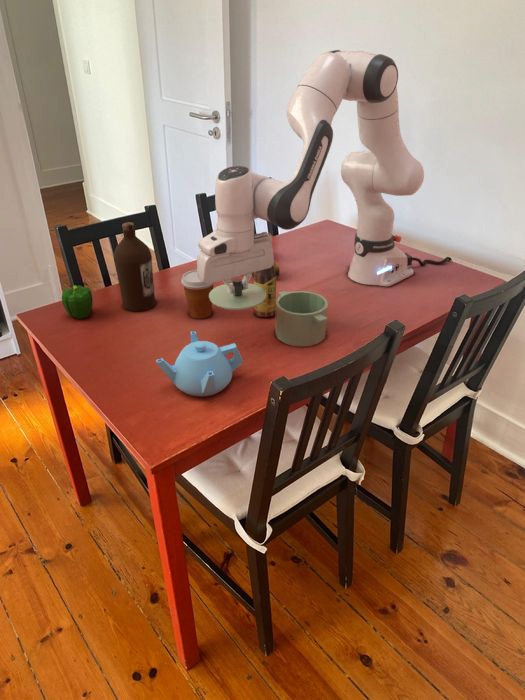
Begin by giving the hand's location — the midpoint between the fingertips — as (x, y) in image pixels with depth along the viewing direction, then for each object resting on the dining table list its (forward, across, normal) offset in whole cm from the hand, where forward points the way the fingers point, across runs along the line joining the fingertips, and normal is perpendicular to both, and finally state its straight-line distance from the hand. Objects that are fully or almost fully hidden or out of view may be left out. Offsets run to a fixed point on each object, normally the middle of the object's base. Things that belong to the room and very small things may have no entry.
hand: (237, 290), depth 134 cm
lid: (+2, 0, 0) cm, 2 cm away
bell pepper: (+15, +32, -37) cm, 51 cm away
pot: (+15, -16, +6) cm, 23 cm away
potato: (+15, -27, -32) cm, 44 cm away
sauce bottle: (+15, -14, -9) cm, 22 cm away
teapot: (+15, +17, +12) cm, 26 cm away
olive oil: (+15, +15, -34) cm, 40 cm away
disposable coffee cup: (+15, +2, -19) cm, 24 cm away
